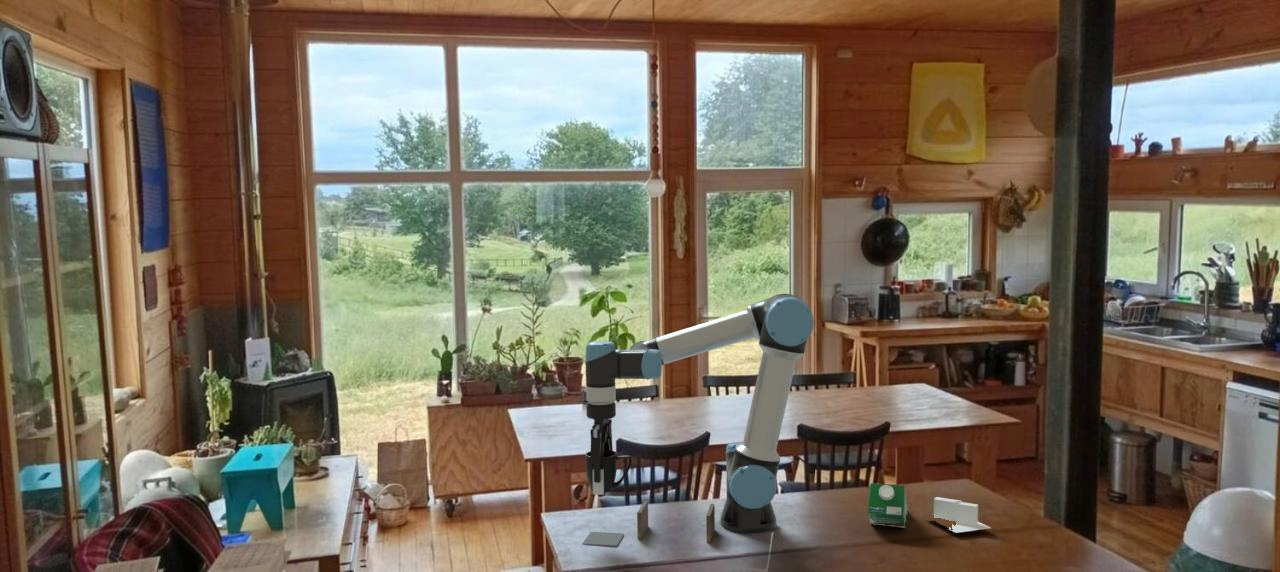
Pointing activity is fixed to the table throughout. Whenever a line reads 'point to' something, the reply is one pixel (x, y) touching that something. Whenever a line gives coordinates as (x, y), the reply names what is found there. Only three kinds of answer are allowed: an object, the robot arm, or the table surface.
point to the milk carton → (887, 504)
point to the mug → (607, 469)
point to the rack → (643, 521)
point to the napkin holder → (958, 514)
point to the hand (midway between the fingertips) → (602, 489)
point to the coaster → (603, 539)
